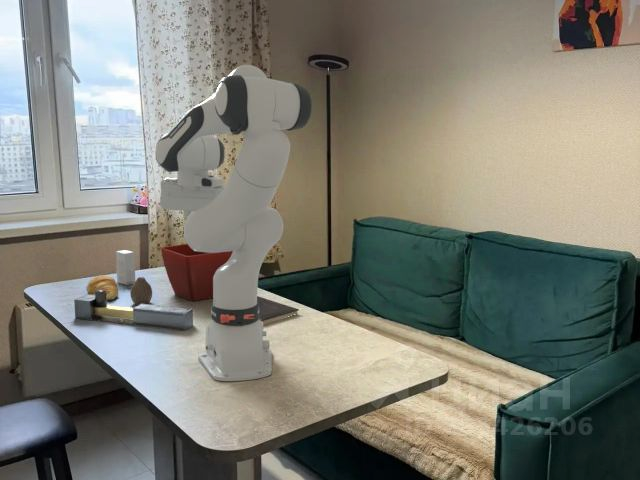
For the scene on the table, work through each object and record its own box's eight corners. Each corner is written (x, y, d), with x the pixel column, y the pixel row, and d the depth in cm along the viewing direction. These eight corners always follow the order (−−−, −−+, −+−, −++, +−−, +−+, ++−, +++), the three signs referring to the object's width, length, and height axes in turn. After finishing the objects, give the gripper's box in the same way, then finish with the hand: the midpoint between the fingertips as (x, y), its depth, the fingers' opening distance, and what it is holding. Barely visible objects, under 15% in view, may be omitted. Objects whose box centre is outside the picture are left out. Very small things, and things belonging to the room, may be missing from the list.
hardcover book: (252, 300, 200) (252, 294, 200) (298, 316, 185) (298, 309, 185) (214, 310, 189) (214, 303, 189) (261, 327, 174) (261, 320, 173)
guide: (193, 324, 173) (193, 305, 172) (184, 331, 167) (184, 311, 166) (87, 312, 182) (86, 294, 180) (75, 318, 176) (74, 299, 175)
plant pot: (160, 293, 205) (159, 246, 201) (207, 284, 217) (207, 240, 214) (188, 306, 191) (187, 256, 188) (236, 296, 203) (236, 249, 200)
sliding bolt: (156, 318, 174) (155, 294, 173) (150, 321, 171) (149, 297, 170) (91, 311, 179) (90, 288, 178) (85, 314, 176) (84, 290, 175)
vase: (146, 307, 188) (145, 281, 187) (126, 305, 190) (125, 279, 188) (156, 301, 195) (155, 276, 193) (137, 299, 196) (136, 274, 195)
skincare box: (136, 283, 217) (134, 251, 215) (126, 285, 214) (124, 253, 211) (126, 280, 220) (125, 249, 218) (116, 282, 217) (115, 251, 215)
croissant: (121, 310, 196) (131, 288, 197) (93, 301, 190) (104, 278, 190) (101, 294, 212) (110, 274, 213) (75, 285, 206) (85, 264, 207)
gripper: (155, 178, 169) (156, 225, 172) (220, 181, 164) (220, 229, 167) (166, 176, 175) (167, 222, 178) (229, 180, 170) (229, 226, 173)
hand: (193, 225), depth 172 cm, fingers closed
